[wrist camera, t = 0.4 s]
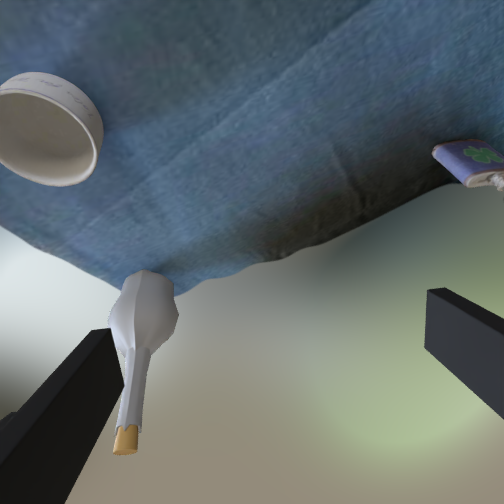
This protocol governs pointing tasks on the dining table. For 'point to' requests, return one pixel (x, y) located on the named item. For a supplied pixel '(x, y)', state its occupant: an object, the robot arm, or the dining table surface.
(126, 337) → the bottle
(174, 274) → the dining table surface
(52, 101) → the teacup
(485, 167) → the flask
